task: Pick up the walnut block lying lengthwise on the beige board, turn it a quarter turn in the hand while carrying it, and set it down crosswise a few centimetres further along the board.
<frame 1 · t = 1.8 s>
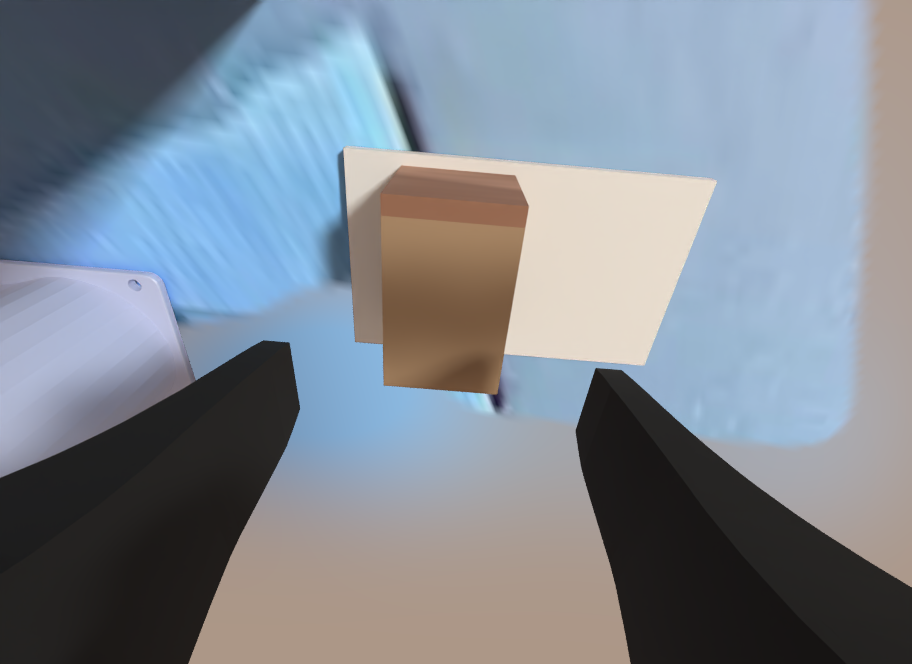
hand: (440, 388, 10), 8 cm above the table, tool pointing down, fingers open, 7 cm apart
walnut block: (451, 266, 16), resting on beige board
beige board: (512, 266, 17), on the table
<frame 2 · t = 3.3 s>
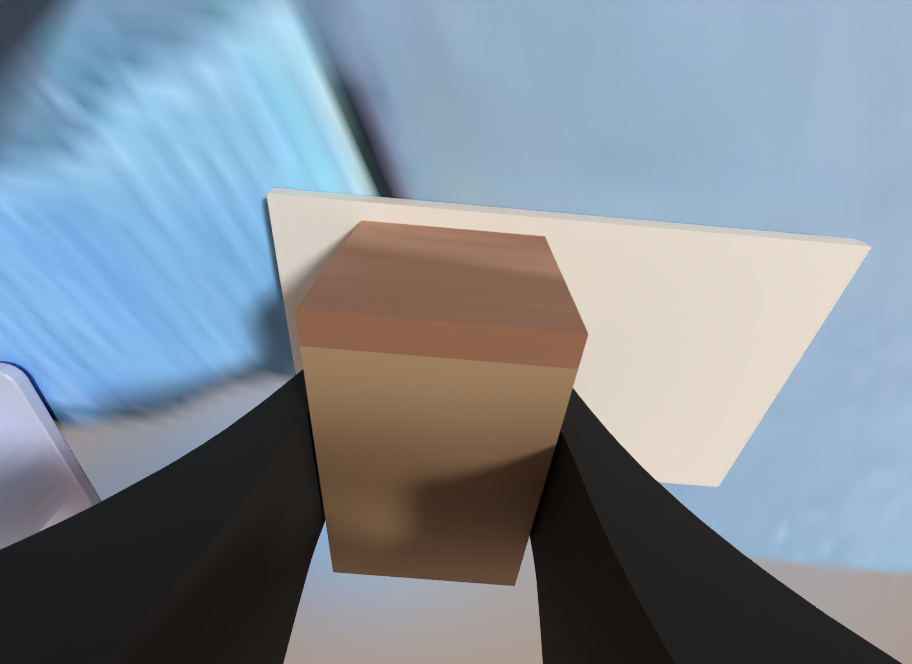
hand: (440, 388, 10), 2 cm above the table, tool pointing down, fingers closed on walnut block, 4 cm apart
walnut block: (443, 361, 11), point 1 cm above the table, touching beige board, gripper
beige board: (535, 358, 11), on the table
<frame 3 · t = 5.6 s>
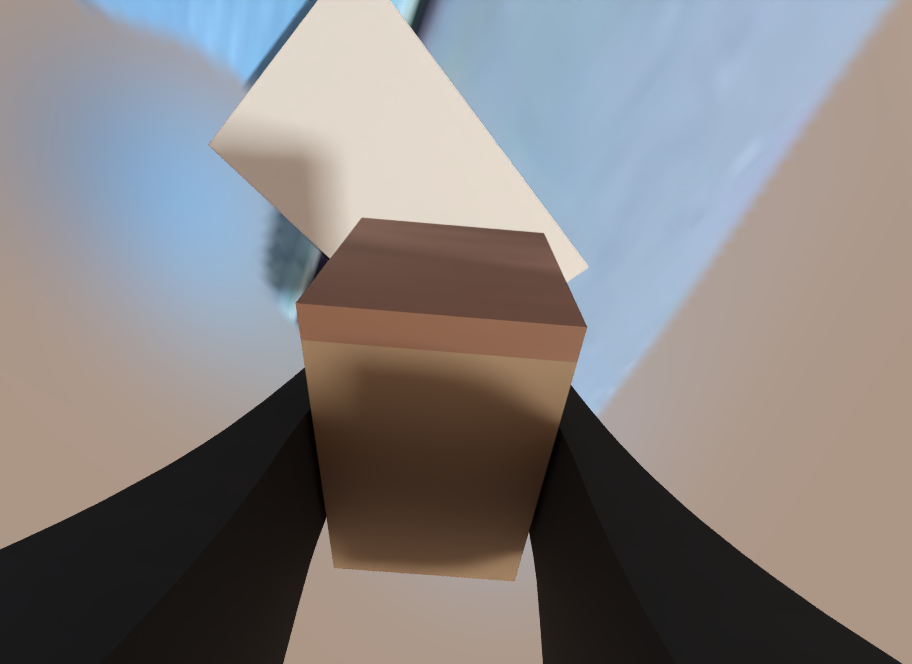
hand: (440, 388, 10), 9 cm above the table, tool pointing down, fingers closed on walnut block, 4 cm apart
walnut block: (443, 358, 11), point 8 cm above the table, touching gripper
beige board: (412, 206, 17), on the table
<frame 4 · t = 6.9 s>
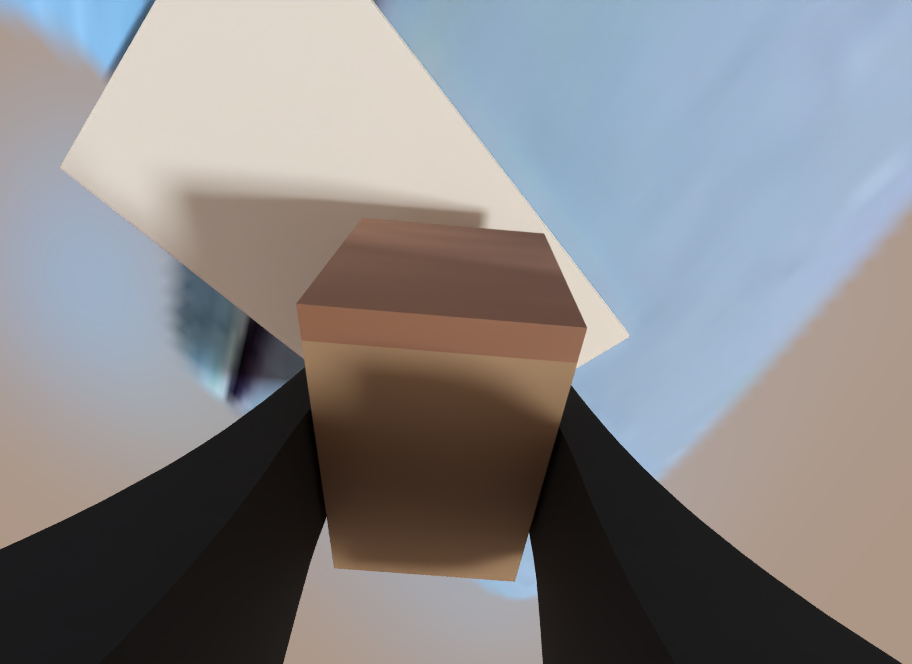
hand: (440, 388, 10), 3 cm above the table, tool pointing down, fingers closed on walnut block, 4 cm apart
walnut block: (443, 359, 11), point 2 cm above the table, touching gripper
beige board: (374, 252, 11), on the table
when the fingers open (3 cm above the table, at t = 7.7 s): walnut block drops 1 cm, resting on beige board.
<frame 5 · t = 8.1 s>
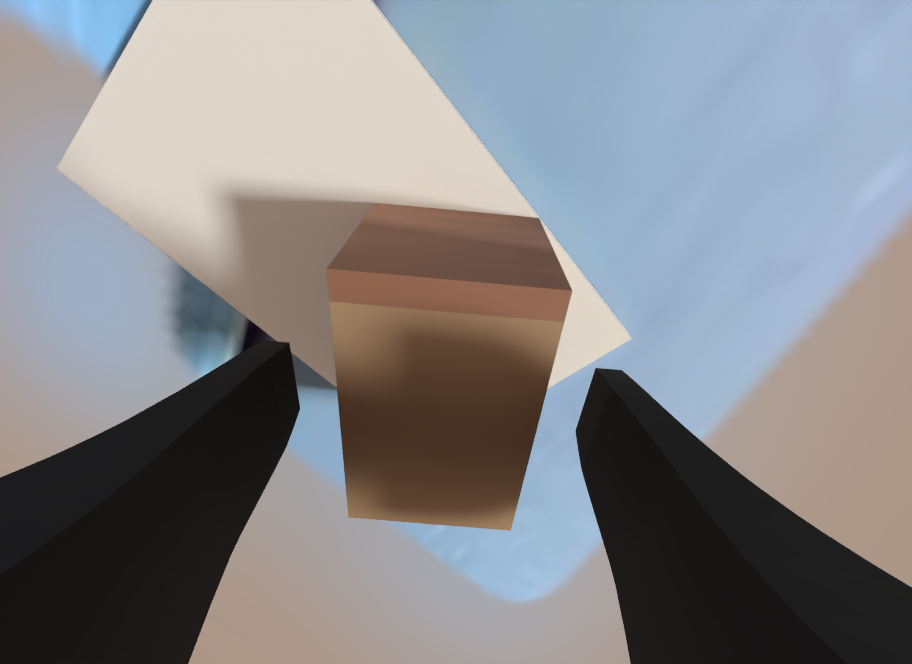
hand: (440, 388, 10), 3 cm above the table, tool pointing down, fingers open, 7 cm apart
walnut block: (446, 334, 12), resting on beige board
beige board: (373, 254, 11), on the table
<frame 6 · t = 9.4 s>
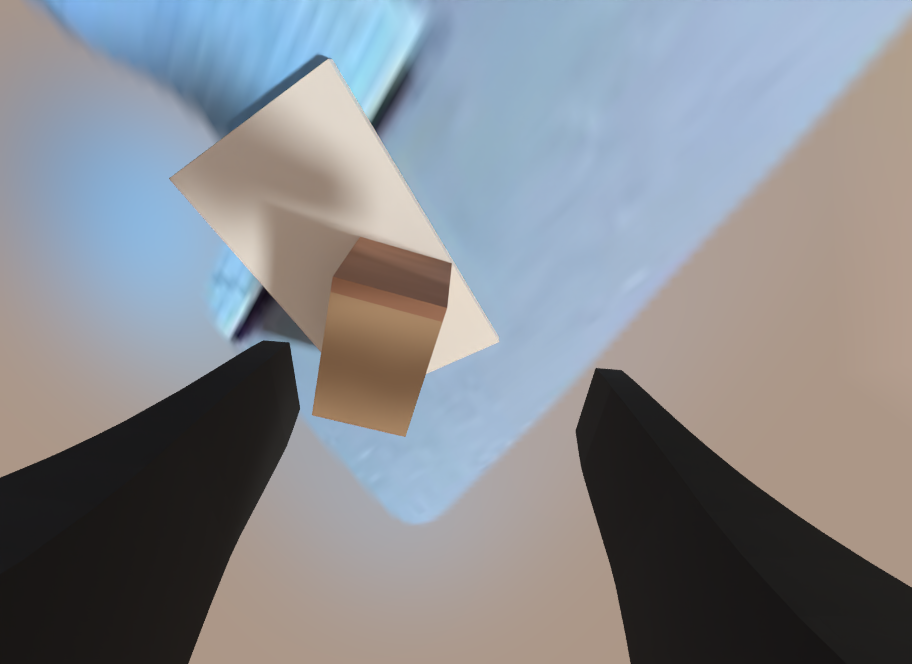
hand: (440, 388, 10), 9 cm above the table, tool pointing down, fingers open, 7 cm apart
walnut block: (389, 320, 19), resting on beige board
beige board: (352, 263, 19), on the table
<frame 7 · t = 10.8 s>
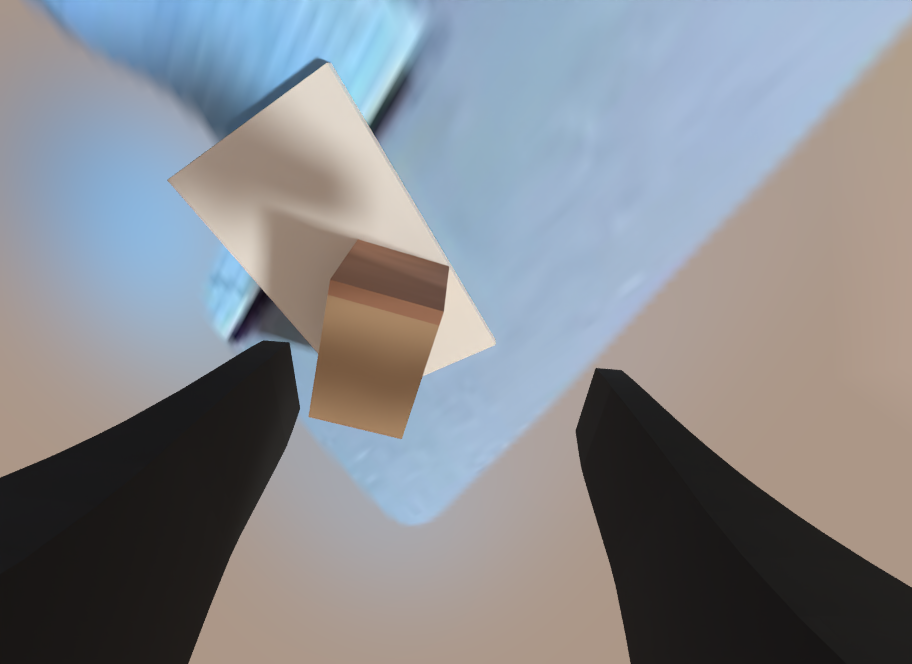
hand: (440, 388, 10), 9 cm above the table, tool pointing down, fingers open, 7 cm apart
walnut block: (386, 322, 19), resting on beige board
beige board: (350, 266, 19), on the table
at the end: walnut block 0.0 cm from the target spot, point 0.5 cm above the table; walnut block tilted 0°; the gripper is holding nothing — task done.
